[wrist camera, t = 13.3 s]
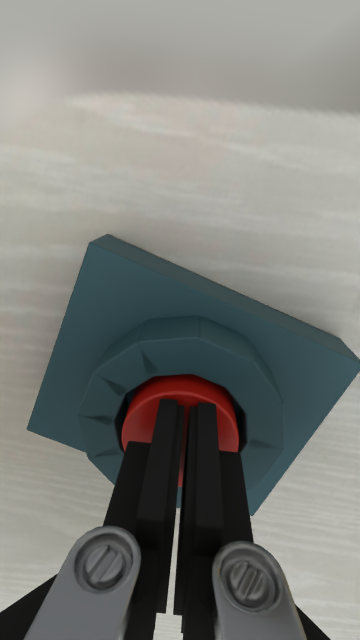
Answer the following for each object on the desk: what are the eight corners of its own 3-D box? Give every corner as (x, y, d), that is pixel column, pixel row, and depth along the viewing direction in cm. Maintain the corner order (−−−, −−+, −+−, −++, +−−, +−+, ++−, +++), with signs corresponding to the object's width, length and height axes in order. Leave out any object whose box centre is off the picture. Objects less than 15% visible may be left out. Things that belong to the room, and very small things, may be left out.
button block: (49, 398, 15) (0, 464, 12) (107, 233, 13) (68, 251, 9) (246, 475, 16) (259, 560, 13) (340, 338, 14) (393, 393, 10)
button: (117, 427, 12) (104, 463, 11) (154, 346, 11) (146, 373, 10) (206, 462, 13) (207, 502, 11) (252, 387, 12) (261, 420, 10)
